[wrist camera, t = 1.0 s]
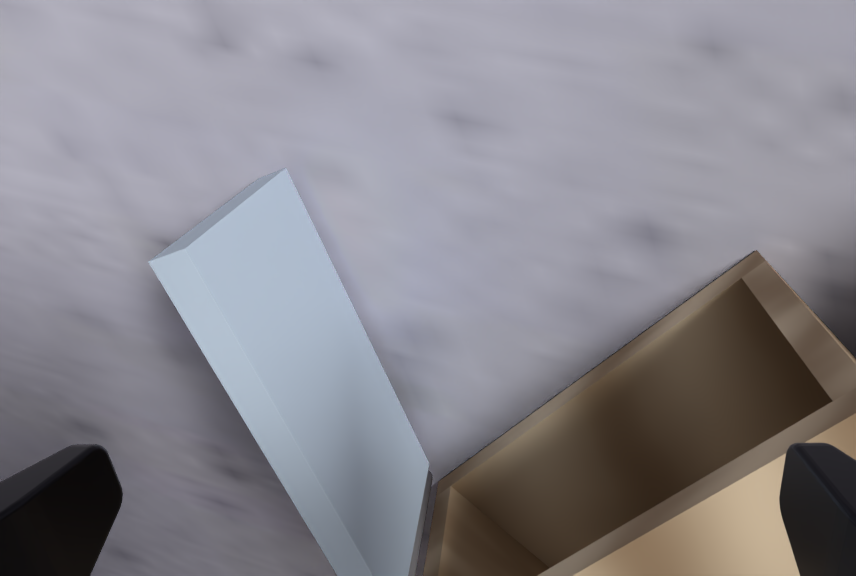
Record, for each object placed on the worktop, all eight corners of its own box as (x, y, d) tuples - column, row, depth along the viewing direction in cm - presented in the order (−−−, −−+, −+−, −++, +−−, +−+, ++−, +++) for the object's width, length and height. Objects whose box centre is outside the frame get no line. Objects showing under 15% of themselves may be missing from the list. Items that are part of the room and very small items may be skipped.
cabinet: (756, 250, 19) (884, 397, 12) (906, 413, 21) (1090, 621, 14) (438, 481, 25) (407, 670, 18) (577, 596, 27) (596, 808, 20)
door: (231, 189, 20) (102, 282, 14) (286, 167, 20) (176, 255, 13) (390, 492, 25) (346, 664, 19) (438, 481, 24) (409, 655, 18)
